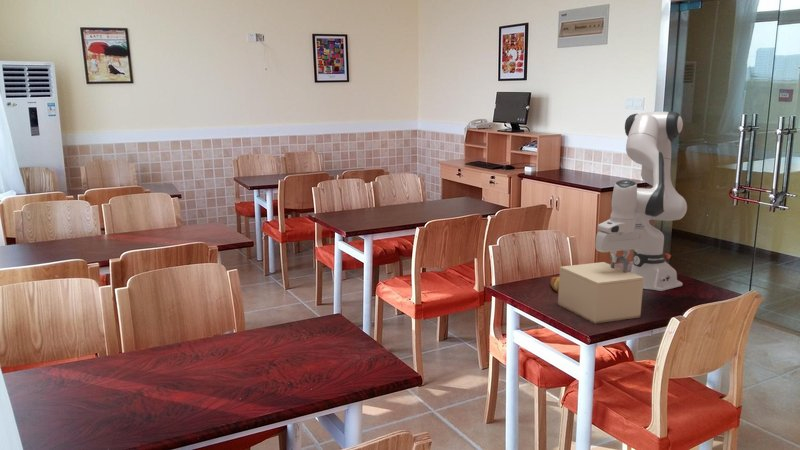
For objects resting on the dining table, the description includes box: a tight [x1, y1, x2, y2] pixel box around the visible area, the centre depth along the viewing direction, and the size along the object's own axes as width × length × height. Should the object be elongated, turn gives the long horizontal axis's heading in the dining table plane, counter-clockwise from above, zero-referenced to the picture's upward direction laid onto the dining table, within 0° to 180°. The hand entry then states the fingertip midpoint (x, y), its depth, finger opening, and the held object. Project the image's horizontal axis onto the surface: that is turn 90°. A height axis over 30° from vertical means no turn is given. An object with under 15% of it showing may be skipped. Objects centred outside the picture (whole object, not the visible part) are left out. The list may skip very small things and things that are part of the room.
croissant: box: [550, 275, 560, 294], centre depth 265 cm, size 21×10×8 cm, turn 19°
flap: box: [559, 254, 644, 285], centre depth 239 cm, size 20×22×6 cm
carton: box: [557, 268, 644, 324], centre depth 241 cm, size 20×22×14 cm
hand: (619, 261), depth 242 cm, fingers open, 2 cm apart
